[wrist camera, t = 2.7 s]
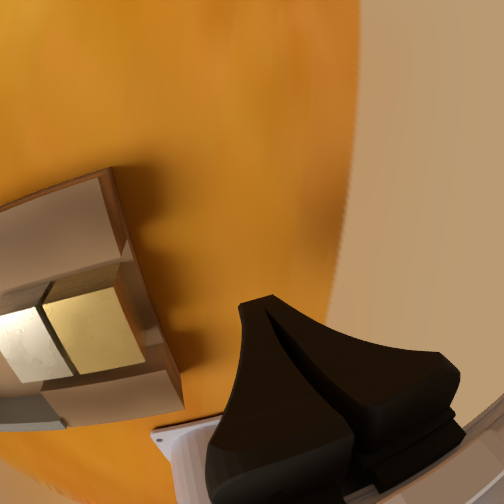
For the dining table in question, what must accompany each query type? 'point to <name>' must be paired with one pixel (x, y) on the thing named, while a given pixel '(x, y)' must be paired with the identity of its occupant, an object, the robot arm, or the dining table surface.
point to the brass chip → (97, 319)
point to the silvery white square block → (31, 336)
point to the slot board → (73, 262)
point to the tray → (28, 415)
